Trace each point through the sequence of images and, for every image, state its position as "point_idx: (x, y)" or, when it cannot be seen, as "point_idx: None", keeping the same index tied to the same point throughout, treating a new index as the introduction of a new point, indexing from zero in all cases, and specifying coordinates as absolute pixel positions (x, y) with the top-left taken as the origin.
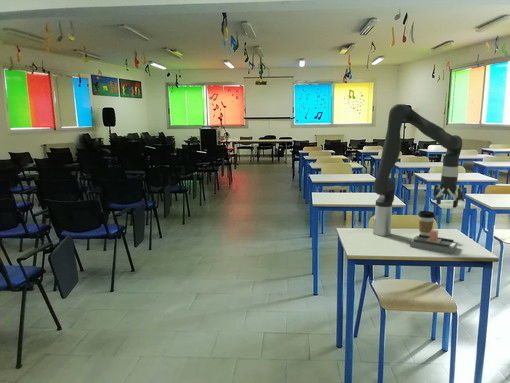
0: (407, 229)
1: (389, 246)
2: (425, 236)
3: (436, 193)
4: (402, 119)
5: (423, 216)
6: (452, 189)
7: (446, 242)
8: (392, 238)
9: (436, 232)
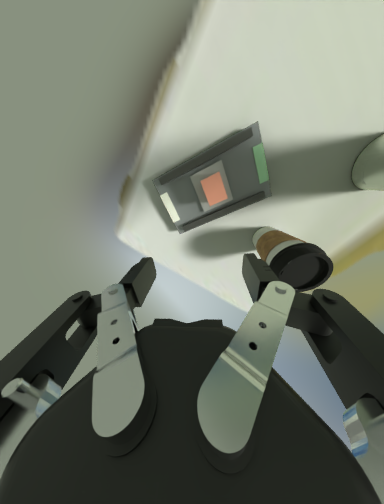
0: None
1: (306, 48)
2: (245, 199)
3: (318, 324)
4: None
5: (298, 245)
6: (72, 419)
7: (190, 212)
8: (332, 150)
9: (200, 181)
